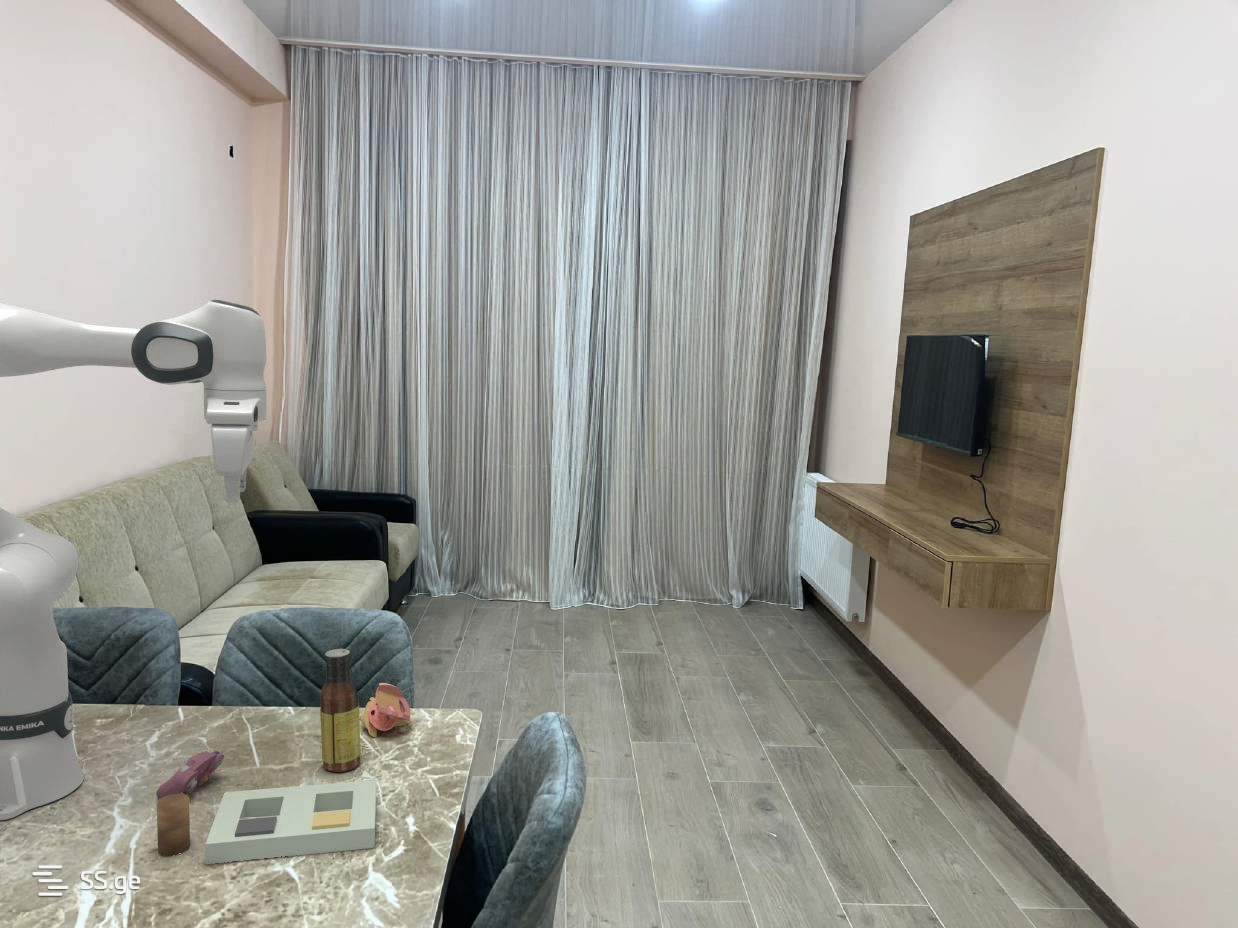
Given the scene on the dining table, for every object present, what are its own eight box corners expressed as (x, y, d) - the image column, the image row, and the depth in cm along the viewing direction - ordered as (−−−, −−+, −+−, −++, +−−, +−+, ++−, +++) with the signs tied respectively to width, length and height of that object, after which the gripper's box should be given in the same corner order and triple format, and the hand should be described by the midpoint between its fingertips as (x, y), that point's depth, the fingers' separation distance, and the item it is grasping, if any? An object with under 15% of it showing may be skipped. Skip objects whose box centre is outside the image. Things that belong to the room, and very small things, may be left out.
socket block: (205, 864, 117) (205, 840, 116) (224, 810, 130) (224, 788, 130) (374, 847, 123) (374, 824, 122) (376, 797, 136) (376, 776, 136)
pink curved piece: (174, 814, 132) (192, 778, 130) (151, 797, 132) (168, 761, 131) (217, 783, 141) (233, 749, 140) (194, 767, 142) (211, 734, 140)
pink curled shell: (347, 740, 156) (352, 690, 162) (391, 751, 163) (394, 702, 169) (379, 724, 152) (383, 673, 158) (424, 736, 159) (425, 687, 165)
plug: (154, 857, 118) (153, 809, 117) (162, 841, 122) (160, 794, 121) (186, 854, 119) (185, 806, 118) (192, 838, 123) (192, 792, 122)
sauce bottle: (366, 758, 149) (367, 647, 146) (351, 775, 143) (352, 660, 140) (329, 754, 149) (329, 644, 147) (313, 772, 143) (313, 657, 141)
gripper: (220, 402, 142) (221, 485, 144) (204, 413, 123) (205, 508, 124) (262, 403, 144) (262, 485, 146) (252, 414, 125) (252, 508, 126)
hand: (236, 496), depth 135 cm, fingers open, 8 cm apart
